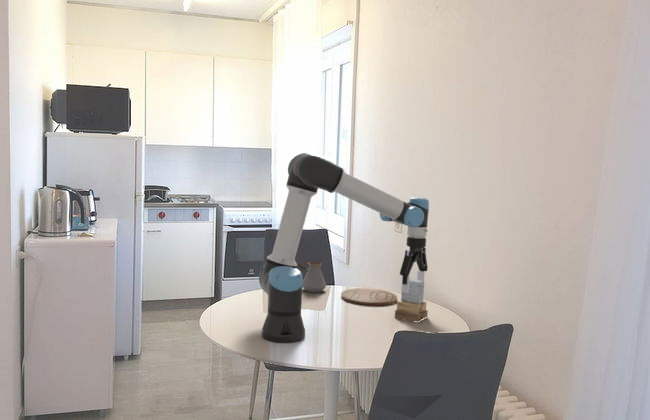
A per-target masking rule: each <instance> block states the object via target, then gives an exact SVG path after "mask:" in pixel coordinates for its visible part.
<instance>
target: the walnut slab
mask: <svg viewBox="0 0 650 420" xmlns="http://www.w3.org/2000/svg"><path fill="white" fill-rule="evenodd" d="M428 311H429V310H428V309H426V310H425V311H423V312H421V313H419V314H413V313H409V312H404V311H399V310H397V309H395V310H394V318H395V319H398V318H399V320H403V319H404V320H403V321H407V320H409V321H408V322H412V321H417V322H418V321H420V320H421V319H423V318H425V317H427V318H428ZM420 322H421V321H420ZM418 323H419V322H418Z"/></svg>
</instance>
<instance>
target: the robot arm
mask: <svg viewBox="0 0 650 420" xmlns="http://www.w3.org/2000/svg"><path fill="white" fill-rule="evenodd" d="M287 173H288V177H287V182H286V185H285V186H286V187H287V189H288V193H287V197H286V201H285V205H284V207H283V213H282V216H281V218H280V223H279V227H278V231H277V235H276V238H275V241H274V245H273V249H272V252H271V253H270V254H269V255H268V256H266V259H265V263H264V265H263V266H262V267H261V269H260V271H259V273H258V274H259V275H258V280H259V281H258V282H259V284H260V287H261V289H262V290H263V292H265V294H266V295H267V314H266V317H265V320H264V323H263V326H262V328H261V337H262V338H263V339H265V340H267V341H270V342H275V343H282V344H283V343H285V344H286V343H296V342H299V341H302V340H304V339H305V338H306V328H305V324H304V322H303V317H302V300H303V287H302V284H303V280H304V278H303V273H302V272H301V270H300V269H298V266H297V264H298V263H297V262H296V260H295V259H296V255H297V252H298V248H299V244H300V240H301V236H302V234H303V230H304V225H305V222H306V218H307V214H308V211H309V208H310V203H311V200H312V197H314V196H315V195H317V194H318V190H323V191H326V192H328V193H330V194H333V193H337V194H339V195H341V196H343V197H345V198H347V199H348V200H349V199H350V200H352V201H354V202H356V203H358V204H360V205H362V206H365V207H367V208H369V209H371V210H373V211H375V212H377V213H379V217H380V219H381V220H382V221H383V222H388V223H389V222H394V223H398V224H401V225H404V226H407V231H406V232H407V233H406V234H407V237H406V246H407V247H409V250H407V249H406V250H405V251H404V256H403V257H404V258H403V261H402V265H401V268H400V271H399V275H400V276H402V280H401V293H402V292H405V293H409V280H410V279H411V277H410V273H411V271H412V268H413V266H414V263H416V264H417V268H418V270H417V276H416V280H420V281H424V282H425V272H428V260H427V253H426V252H427V251H426V250H427V249H426V247H427V246H426V245H427V238H426V237H427V233H428V232H429V231H428V219H429V211H430V207H429V206H430V201H429V199H427V198H424V197H410V198H409V202H405V201H403V200H402V199H400V198H397V197H396V196H393V195H391V194H389V193H388V192H385V191H383V190H381V189H380V188H378V187H375V186H373V185H371V184H369V183H367V182H365V181H363V180H361V179H358V178H356V177H355V176H353V175H351V174H348V173H346V172H345V170H344V168H343V167H341V166H338V165H337V164H336V163H334V162H332V161H330V160H329V159H327V158H325V157H324V156H322V155H320V154H316V153H309V152H303V153H299V154H296V155H295V156H294V157H293V158H292V159H291V160H290V161H289V163H288V166H287Z"/></svg>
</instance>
